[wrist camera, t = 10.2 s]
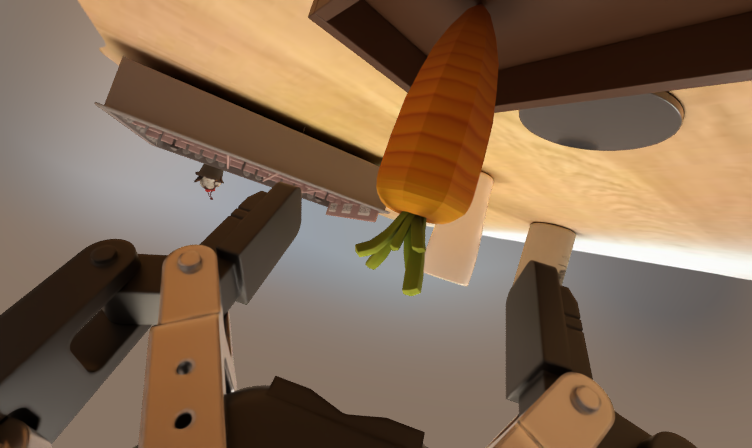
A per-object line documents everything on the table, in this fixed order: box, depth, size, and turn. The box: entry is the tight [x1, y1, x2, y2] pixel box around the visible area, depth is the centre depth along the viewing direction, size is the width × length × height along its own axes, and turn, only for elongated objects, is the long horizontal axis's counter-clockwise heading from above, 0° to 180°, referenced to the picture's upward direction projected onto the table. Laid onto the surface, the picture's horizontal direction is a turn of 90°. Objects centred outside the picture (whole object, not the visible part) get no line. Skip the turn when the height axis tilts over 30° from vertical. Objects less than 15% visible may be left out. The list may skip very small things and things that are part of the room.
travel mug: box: [513, 223, 576, 286], centre depth 65 cm, size 8×8×18 cm
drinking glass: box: [424, 172, 494, 286], centre depth 47 cm, size 7×7×15 cm
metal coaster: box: [519, 91, 684, 151], centre depth 25 cm, size 10×10×1 cm
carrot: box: [355, 4, 499, 296], centre depth 17 cm, size 5×5×15 cm
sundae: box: [194, 164, 224, 200], centre depth 86 cm, size 7×7×15 cm
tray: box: [308, 0, 752, 113], centre depth 16 cm, size 18×12×3 cm, turn 141°
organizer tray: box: [95, 57, 390, 222], centre depth 62 cm, size 32×40×10 cm
